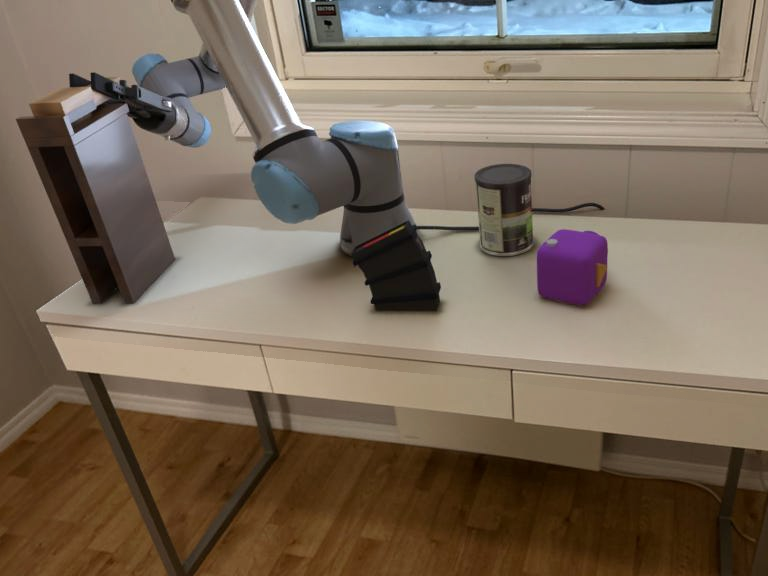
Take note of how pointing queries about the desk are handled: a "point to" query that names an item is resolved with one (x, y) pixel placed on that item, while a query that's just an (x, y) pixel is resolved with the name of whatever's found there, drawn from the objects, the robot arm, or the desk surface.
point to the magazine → (398, 270)
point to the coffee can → (504, 209)
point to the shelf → (101, 199)
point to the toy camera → (572, 266)
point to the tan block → (70, 102)
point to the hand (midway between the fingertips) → (82, 81)
